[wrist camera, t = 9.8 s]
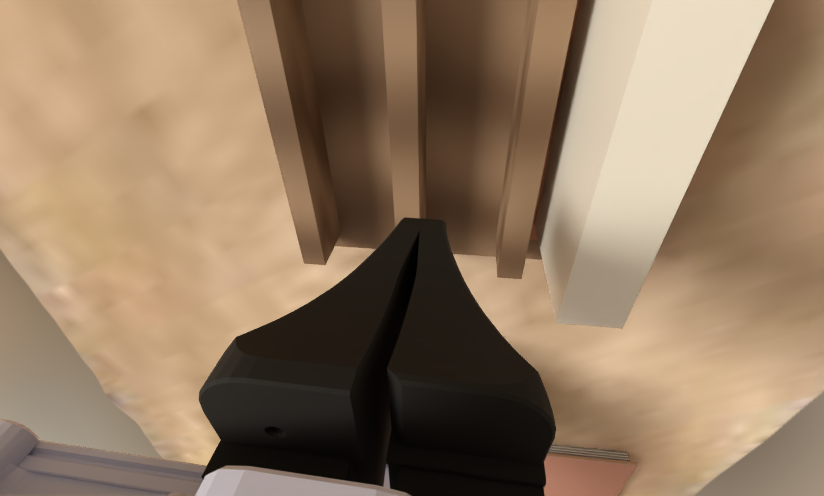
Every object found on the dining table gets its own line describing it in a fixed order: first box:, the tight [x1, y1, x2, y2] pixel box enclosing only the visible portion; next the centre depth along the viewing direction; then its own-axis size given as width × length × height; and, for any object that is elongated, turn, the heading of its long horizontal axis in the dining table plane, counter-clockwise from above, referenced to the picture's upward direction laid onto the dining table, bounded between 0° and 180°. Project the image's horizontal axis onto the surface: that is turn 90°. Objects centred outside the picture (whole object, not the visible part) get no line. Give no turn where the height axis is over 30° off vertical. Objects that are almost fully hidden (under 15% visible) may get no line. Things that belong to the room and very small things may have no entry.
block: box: [535, 0, 774, 329], centre depth 14 cm, size 12×2×7 cm, turn 2°
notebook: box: [544, 445, 637, 496], centre depth 42 cm, size 27×17×2 cm, turn 94°
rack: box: [237, 0, 581, 279], centre depth 17 cm, size 17×18×4 cm
